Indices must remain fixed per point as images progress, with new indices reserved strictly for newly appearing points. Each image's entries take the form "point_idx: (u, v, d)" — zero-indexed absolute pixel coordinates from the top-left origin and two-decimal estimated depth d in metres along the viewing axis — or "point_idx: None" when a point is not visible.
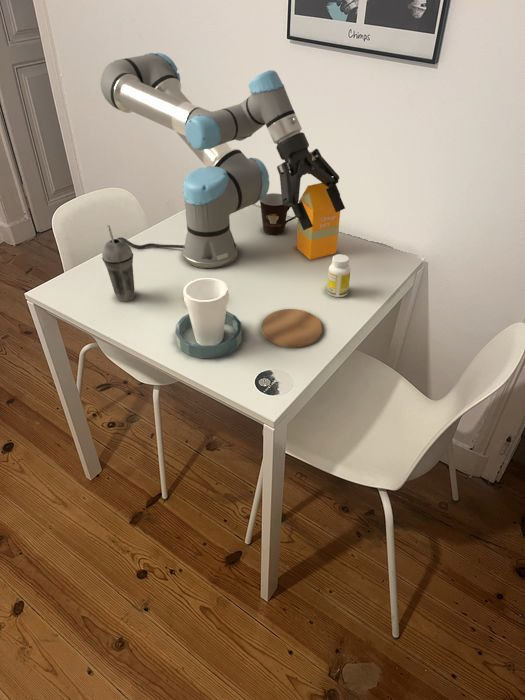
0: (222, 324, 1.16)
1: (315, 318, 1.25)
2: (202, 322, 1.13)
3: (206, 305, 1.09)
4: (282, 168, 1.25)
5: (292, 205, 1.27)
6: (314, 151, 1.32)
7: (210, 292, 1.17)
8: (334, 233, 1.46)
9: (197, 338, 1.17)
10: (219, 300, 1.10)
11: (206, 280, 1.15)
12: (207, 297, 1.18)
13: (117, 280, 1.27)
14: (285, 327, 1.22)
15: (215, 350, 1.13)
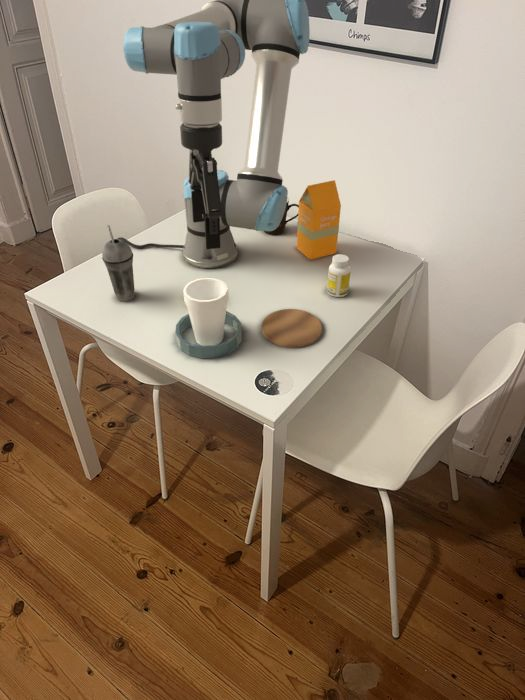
0: (222, 324, 1.16)
1: (315, 318, 1.25)
2: (202, 322, 1.13)
3: (206, 305, 1.09)
4: None
5: None
6: None
7: (210, 292, 1.17)
8: (334, 233, 1.46)
9: (197, 338, 1.17)
10: (219, 300, 1.10)
11: (206, 280, 1.15)
12: (207, 297, 1.18)
13: (117, 280, 1.27)
14: (285, 327, 1.22)
15: (215, 350, 1.13)
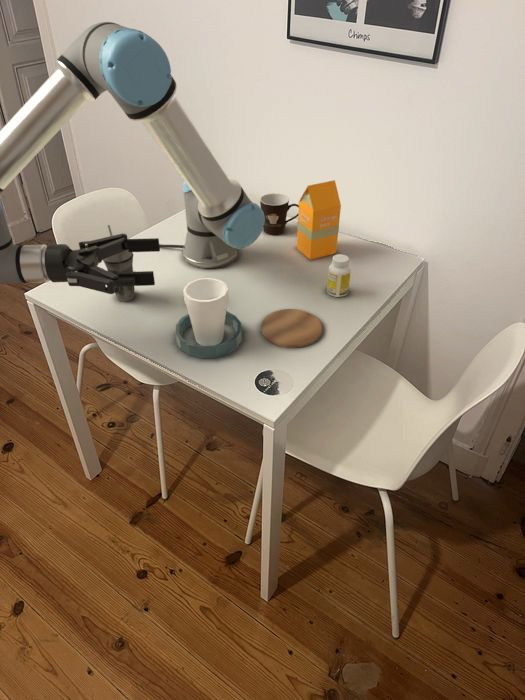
0: (222, 324, 1.16)
1: (315, 318, 1.25)
2: (202, 322, 1.13)
3: (206, 305, 1.09)
4: None
5: None
6: None
7: (210, 292, 1.17)
8: (334, 233, 1.46)
9: (197, 338, 1.17)
10: (219, 300, 1.10)
11: (206, 280, 1.15)
12: (207, 297, 1.18)
13: None
14: (285, 327, 1.22)
15: (215, 350, 1.13)
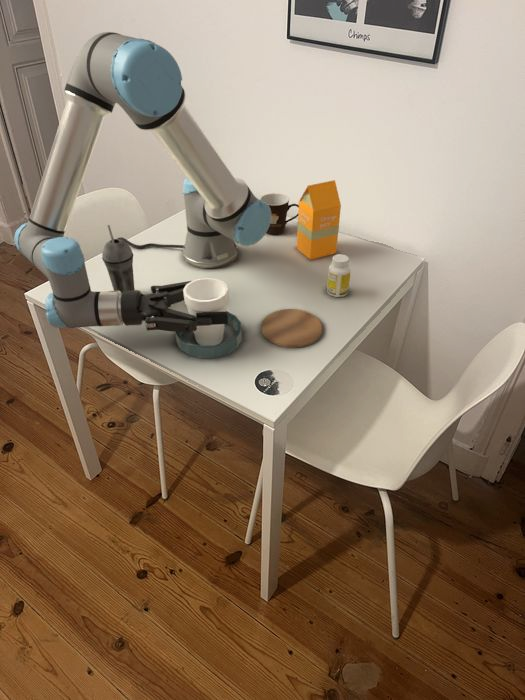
0: (222, 324, 1.16)
1: (315, 318, 1.25)
2: None
3: (206, 305, 1.09)
4: None
5: None
6: None
7: (210, 292, 1.17)
8: (334, 233, 1.46)
9: (197, 338, 1.17)
10: (219, 300, 1.10)
11: (206, 280, 1.15)
12: (207, 297, 1.18)
13: (117, 280, 1.27)
14: (285, 327, 1.22)
15: (215, 350, 1.13)
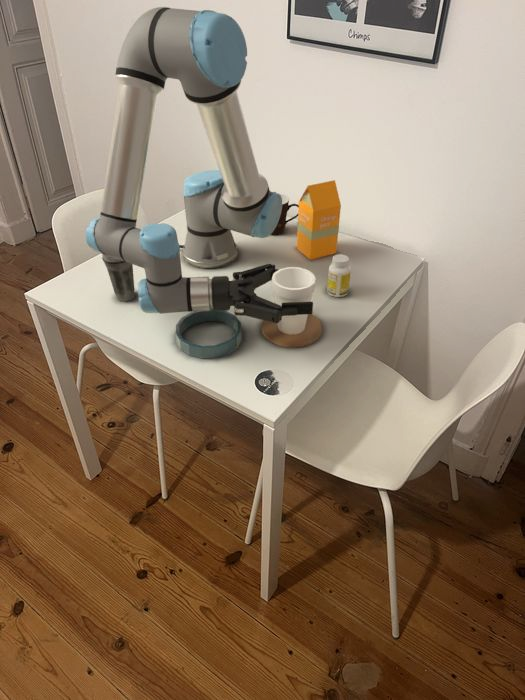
0: None
1: (315, 318, 1.25)
2: None
3: (297, 293, 1.11)
4: None
5: None
6: None
7: (295, 281, 1.19)
8: (334, 233, 1.46)
9: (281, 326, 1.20)
10: (309, 288, 1.12)
11: (292, 269, 1.17)
12: (291, 286, 1.20)
13: (117, 280, 1.27)
14: None
15: (215, 350, 1.13)
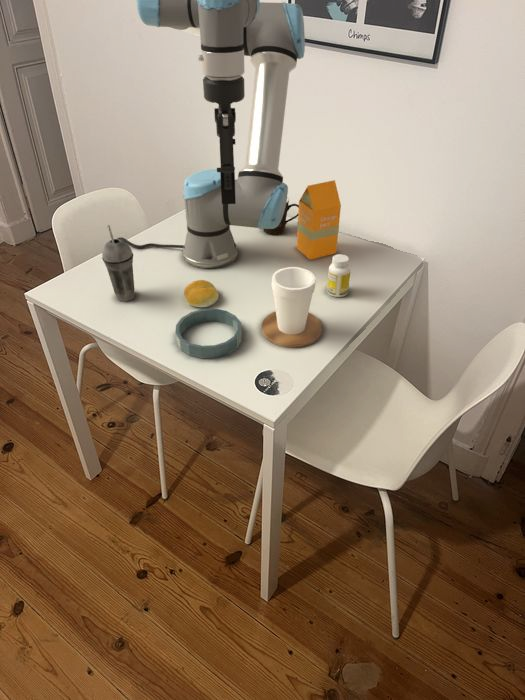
0: (307, 312, 1.18)
1: (315, 318, 1.25)
2: (290, 310, 1.15)
3: (297, 293, 1.11)
4: None
5: None
6: None
7: (295, 281, 1.19)
8: (334, 233, 1.46)
9: (281, 326, 1.20)
10: (309, 288, 1.12)
11: (292, 269, 1.17)
12: (291, 286, 1.20)
13: (117, 280, 1.27)
14: None
15: (215, 350, 1.13)
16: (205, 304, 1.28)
